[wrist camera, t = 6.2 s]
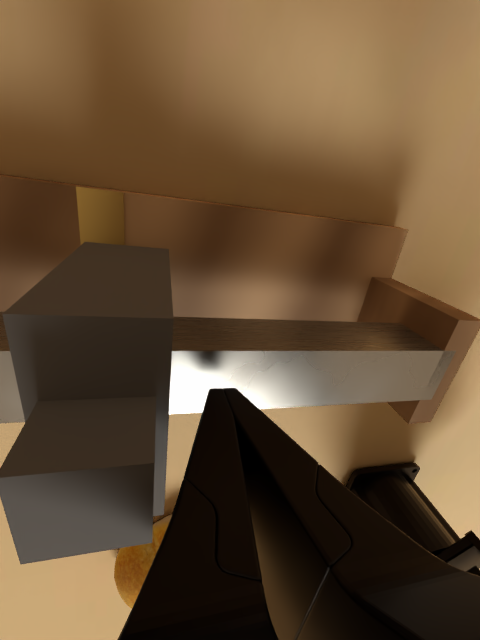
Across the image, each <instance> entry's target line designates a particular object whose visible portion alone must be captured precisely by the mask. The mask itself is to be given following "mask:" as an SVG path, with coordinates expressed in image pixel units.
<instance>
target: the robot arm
mask: <svg viewBox="0 0 480 640" xmlns="http://www.w3.org/2000/svg"><path fill="white" fill-rule="evenodd" d="M419 470H420V467H419V466H418V465H417V464H416V463H407V464H399V465H391V466H383V467H375V468H367V469H359V470H356V471H354V472H353V473H352V475H351V477H350V479H349V482H348V484H347V487H345V486H344V485H343V484H342V483H341V482H339V481H338V480H337V479H336V478H335V477H334V476H332V475H331V474H330V473H329V472H328V471H327V470H326V469H325V468H324V467H322V466H321V465H318V462H317V461H316V460H315V459H314V458H312V457H311V456H310V455H309V454H308V453H307V452H306V451H305V450H304V449H303V448H301V447H300V446H299V445H298V444H297V443H296V442H295V441H294V440H293V439H291V438H290V437H289V436H288V435H287V434H286V433H285V432H284V431H283V430H282V429H280V428H279V427H278V426H277V425H276V424H275V423H274V422H273V421H272V420H271V419H269V418H268V417H267V416H266V415H265V414H264V413H263V412H262V411H261V410H260V409H258V408H257V407H256V406H255V405H254V404H253V403H252V402H251V401H250V400H249V399H247V398H246V397H245V396H244V395H243V394H242V393H241V392H240V391H239V390H237V389H236V388H223V389H222V388H211V389H209V391H208V394H207V398H206V401H205V405H204V408H203V412H202V415H201V419H200V422H199V426H198V429H197V433H196V436H195V440H194V443H193V447H192V450H191V454H190V457H189V461H188V464H187V468H186V471H185V475H184V480H183V481H182V485H181V488H180V492H179V495H178V498H177V501H176V505H175V508H174V511H173V514H172V517H171V519H170V522H169V524H168V527H167V529H166V532H165V534H164V537H163V539H162V542H161V544H160V546H159V548H158V551H157V553H156V555H155V558H154V560H153V562H152V564H151V567H150V569H149V571H148V574H147V576H146V578H145V580H144V583H143V585H142V587H141V590H140V592H139V594H138V596H137V599H136V601H135V603H134V606H133V608H132V610H131V612H130V615H129V617H128V619H127V621H126V623H125V625H124V627H123V629H122V632H121V634H120V636H119V638H118V640H480V570H479V568H480V540H479V538H478V537H477V536H476V535H475V534H474V533H473V532H472V531H469V532H468V533H466V534H465V537H463V538H462V539H460V538H459V536H458V535H457V534H456V533H455V532H454V530H453V529H452V528H451V527H450V525H449V524H448V523H447V522H446V520H445V519H444V518H443V517H442V515H441V514H440V513H439V512H438V511H437V509H436V508H435V507H434V506H433V504H432V503H431V502H430V501H429V499H428V498H427V497H426V496H425V495H424V493H423V492H422V491H421V490H420V488H419V487H418V486H417V485H416V483H415V482H414V479H415V477H416V475H417V473H418V472H419Z"/></svg>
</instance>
